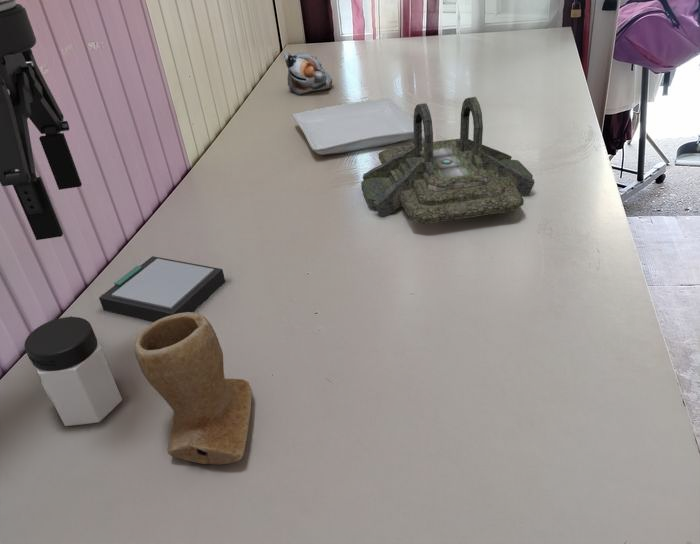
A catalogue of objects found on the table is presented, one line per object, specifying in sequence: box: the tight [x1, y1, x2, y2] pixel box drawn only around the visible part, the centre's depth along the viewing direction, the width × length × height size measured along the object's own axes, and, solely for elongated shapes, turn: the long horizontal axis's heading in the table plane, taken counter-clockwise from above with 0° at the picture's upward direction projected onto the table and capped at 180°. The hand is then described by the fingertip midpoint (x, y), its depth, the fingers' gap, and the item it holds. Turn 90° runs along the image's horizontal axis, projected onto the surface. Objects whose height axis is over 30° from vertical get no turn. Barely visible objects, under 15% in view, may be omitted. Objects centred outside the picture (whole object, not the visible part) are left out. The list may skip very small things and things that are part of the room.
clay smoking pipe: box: [133, 311, 253, 465], centre depth 77 cm, size 15×12×15 cm
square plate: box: [291, 97, 424, 156], centre depth 159 cm, size 27×27×4 cm
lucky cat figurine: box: [283, 52, 333, 95], centre depth 189 cm, size 15×12×14 cm
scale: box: [98, 255, 226, 323], centre depth 106 cm, size 15×14×3 cm
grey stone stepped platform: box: [360, 96, 535, 225], centre depth 125 cm, size 35×34×18 cm
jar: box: [24, 316, 123, 427], centre depth 83 cm, size 9×8×12 cm
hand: (61, 210), depth 74 cm, fingers open, 13 cm apart
